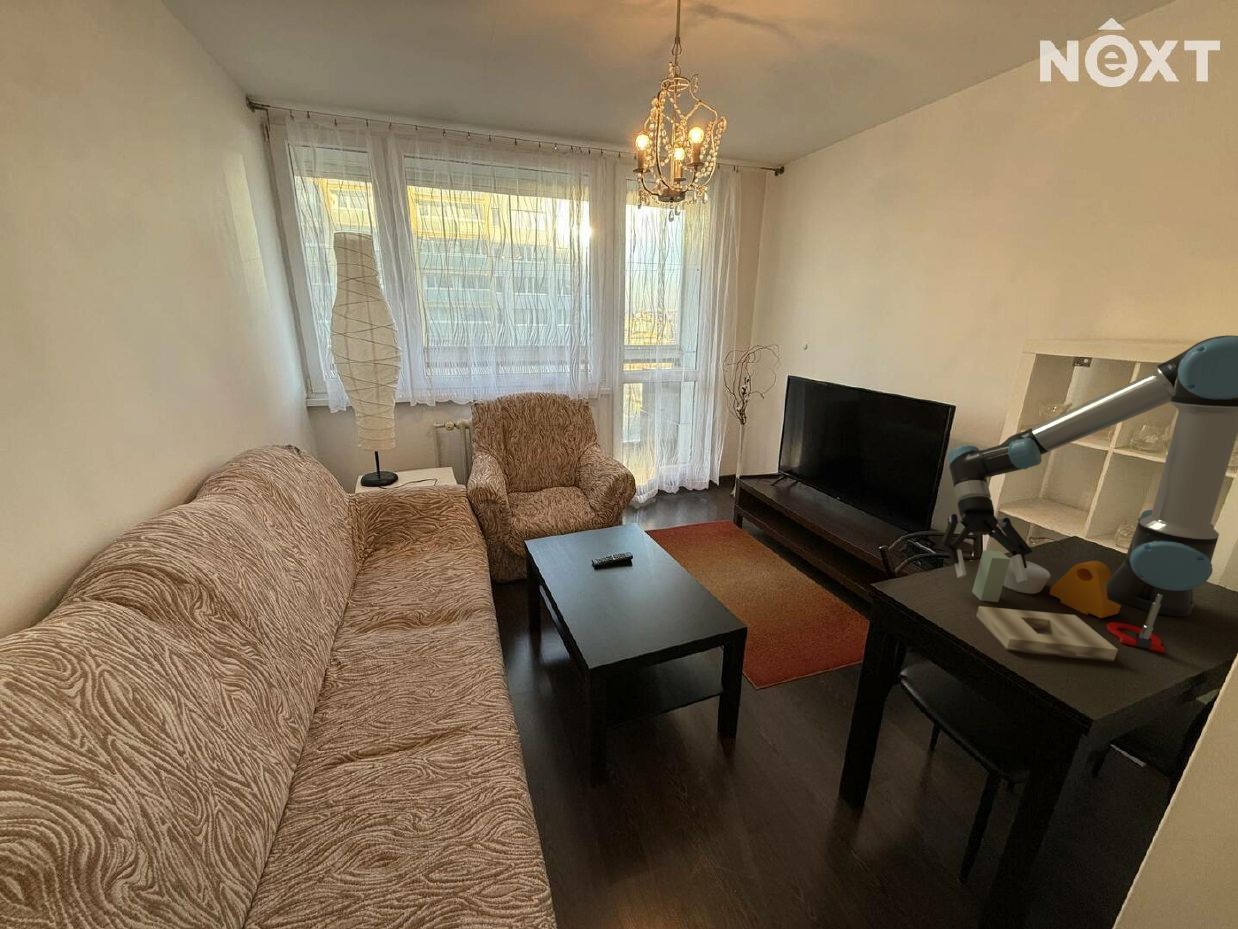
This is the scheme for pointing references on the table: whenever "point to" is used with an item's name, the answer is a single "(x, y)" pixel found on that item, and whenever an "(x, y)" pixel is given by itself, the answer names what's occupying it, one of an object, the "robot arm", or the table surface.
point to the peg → (991, 575)
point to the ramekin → (1034, 579)
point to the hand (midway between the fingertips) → (991, 579)
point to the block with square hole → (1045, 634)
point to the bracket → (1086, 589)
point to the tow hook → (1141, 630)
